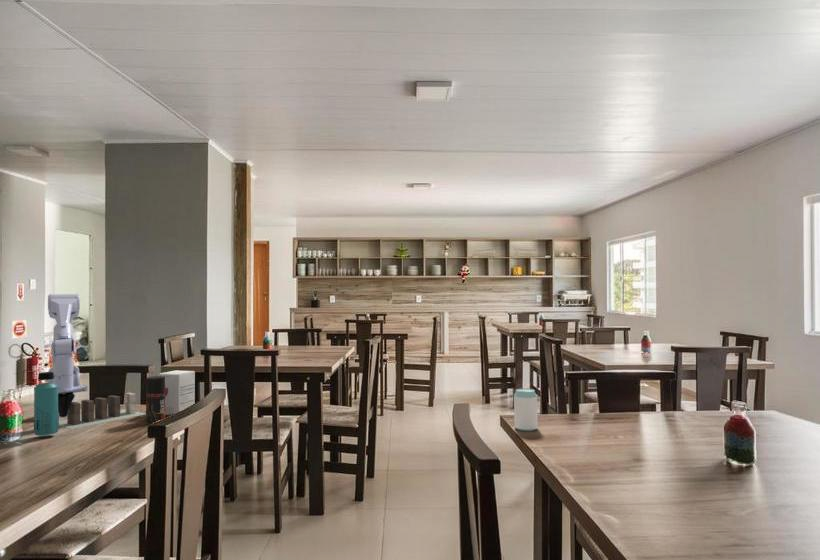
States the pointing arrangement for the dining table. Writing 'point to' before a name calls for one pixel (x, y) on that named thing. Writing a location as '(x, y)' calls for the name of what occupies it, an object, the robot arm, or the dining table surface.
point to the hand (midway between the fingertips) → (63, 416)
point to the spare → (130, 403)
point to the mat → (98, 421)
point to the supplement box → (178, 390)
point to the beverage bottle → (46, 406)
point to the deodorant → (155, 398)
